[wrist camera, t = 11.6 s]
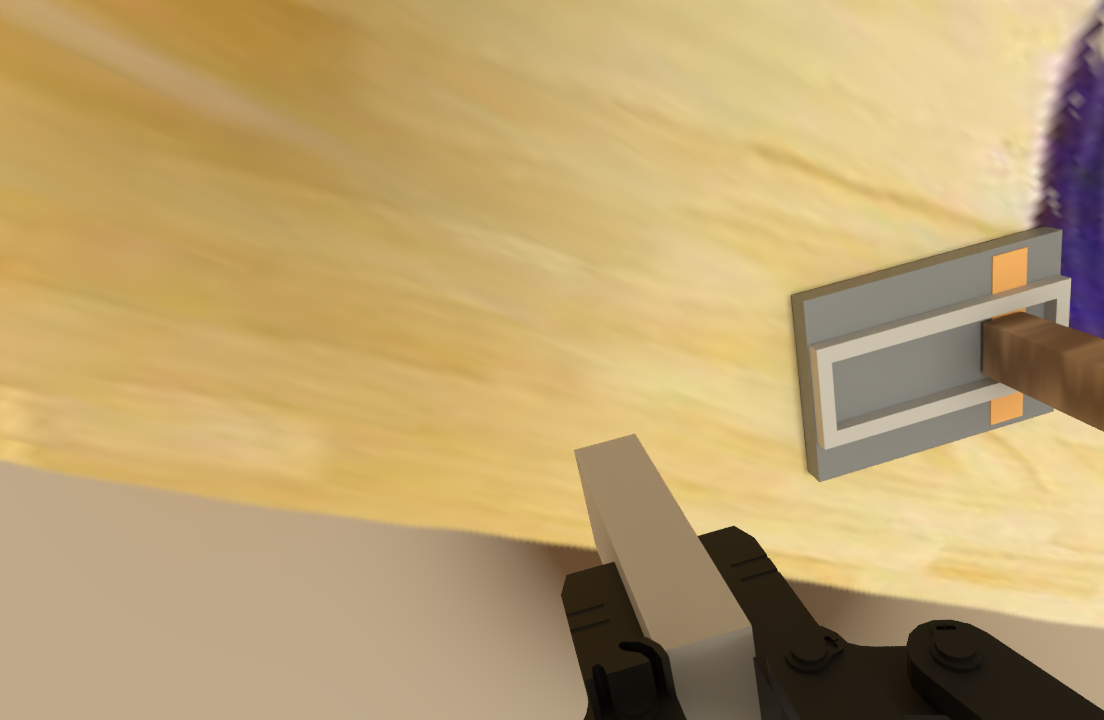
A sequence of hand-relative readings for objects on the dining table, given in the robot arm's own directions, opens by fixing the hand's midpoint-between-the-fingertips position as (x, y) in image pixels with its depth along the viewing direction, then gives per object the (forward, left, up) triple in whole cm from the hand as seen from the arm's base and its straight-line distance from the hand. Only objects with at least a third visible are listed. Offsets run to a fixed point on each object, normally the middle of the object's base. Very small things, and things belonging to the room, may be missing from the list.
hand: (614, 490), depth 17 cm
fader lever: (+15, +33, -27) cm, 45 cm away
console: (+15, +29, -29) cm, 43 cm away
